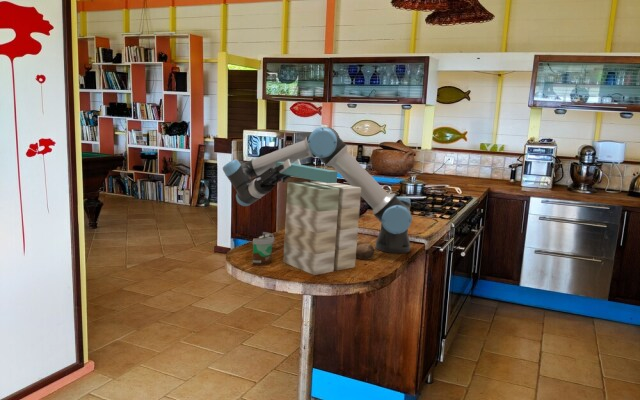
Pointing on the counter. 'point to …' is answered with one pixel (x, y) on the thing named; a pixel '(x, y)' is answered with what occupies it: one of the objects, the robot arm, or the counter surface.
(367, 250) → the mushroom
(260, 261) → the food container
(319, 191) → the block stand
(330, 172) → the beam
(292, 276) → the counter surface
